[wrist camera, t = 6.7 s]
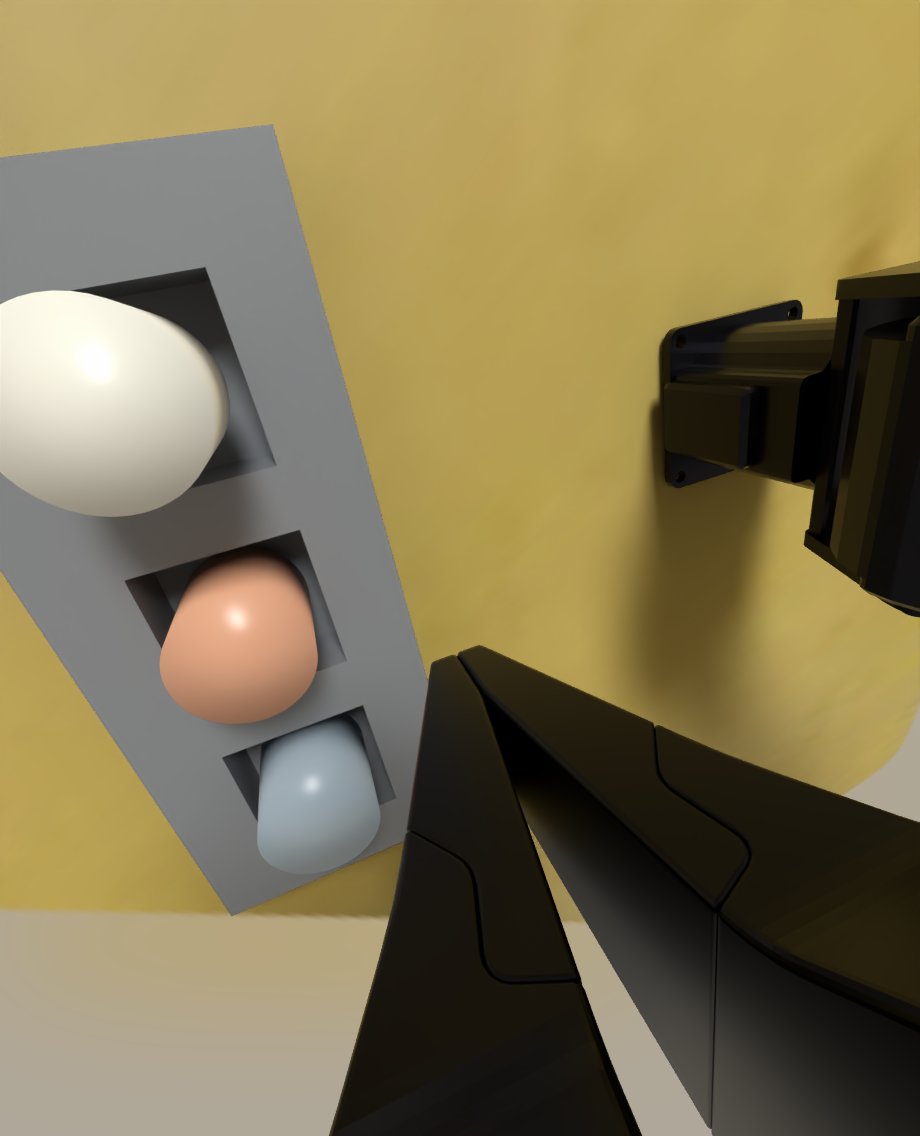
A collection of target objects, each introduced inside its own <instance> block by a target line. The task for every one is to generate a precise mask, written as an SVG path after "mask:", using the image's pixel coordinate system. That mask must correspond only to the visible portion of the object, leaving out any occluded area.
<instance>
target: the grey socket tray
mask: <svg viewBox="0 0 920 1136" xmlns="http://www.w3.org/2000/svg"><path fill="white" fill-rule="evenodd" d="M52 290H54V291H74V292H81V293H88V294H92V295H96V296H99V297H103V298H107V299H110V300H113V301H116V302H119V303H122V304H125V305H128V306H131V307H134V308H138V309H141V310H144V311H147V312H150V313H153V314H156V315H158V316H161V317H163V318H166V319H168V320H170V321H172V322H174V323H176V324H178V325H179V326H181V327H182V328H184V329H185V330H187V331H188V332H189V333H191V334H192V335H193V336H194V337H195V338H196V339H198V340H199V341H200V342H201V343H202V344H203V346H204V347H205V348H206V349H207V350H208V351H209V353H210V354H211V355H212V356H213V358H214V359H215V361H216V363H217V364H218V366H219V368H220V370H221V372H222V374H223V376H224V378H225V382H226V385H227V388H228V393H229V399H230V415H229V422H228V426H227V430H226V432H225V434H224V437H223V439H222V440H221V442H220V444H219V445H218V447H217V448H216V450H215V452H214V453H213V455H212V456H211V458H210V460H209V461H208V463H207V464H206V466H205V468H204V469H203V471H202V472H201V474H200V475H199V477H198V478H197V479H196V481H195V482H194V483H193V484H192V485H191V487H190V488H188V489H187V490H186V491H185V492H184V493H183V494H182V495H180V496H179V497H177V498H176V499H174V500H173V501H171V502H170V503H168V504H166V505H164V506H162V507H159V508H157V509H154V510H151V511H148V512H145V513H141V514H136V515H131V516H119V517H102V516H93V515H85V514H81V513H76V512H72V511H68V510H65V509H62V508H59V507H56V506H53V505H51V504H49V503H47V502H44V501H42V500H40V499H38V498H36V497H34V496H33V495H31V494H29V493H27V492H26V491H24V490H22V489H21V488H19V487H18V486H17V485H15V484H14V483H13V482H11V481H10V480H8V479H7V478H6V477H5V476H4V475H3V474H2V473H1V472H0V571H1V572H2V574H3V575H4V577H5V578H6V580H7V581H8V583H9V584H10V586H11V587H12V589H13V590H14V592H15V593H16V595H17V596H18V598H19V599H20V601H21V602H22V604H23V605H24V607H25V608H26V610H27V611H28V613H29V614H30V616H31V617H32V619H33V620H34V622H35V623H36V625H37V626H38V628H39V629H40V631H41V632H42V634H43V635H44V637H45V638H46V640H47V641H48V643H49V644H50V646H51V647H52V649H53V650H54V652H55V653H56V655H57V656H58V658H59V659H60V661H61V662H62V663H63V665H64V666H65V668H66V669H67V671H68V672H69V674H70V675H71V677H72V678H73V680H74V681H75V683H76V684H77V686H78V687H79V689H80V690H81V692H82V693H83V695H84V696H85V698H86V699H87V701H88V702H89V704H90V705H91V707H92V708H93V710H94V711H95V713H96V714H97V716H98V717H99V719H100V720H101V722H102V723H103V725H104V726H105V728H106V729H107V731H108V732H109V734H110V735H111V737H112V738H113V740H114V741H115V743H116V744H117V746H118V747H119V749H120V750H121V752H122V753H123V755H124V756H125V758H126V759H127V761H128V762H129V764H130V765H131V767H132V768H133V770H134V771H135V773H136V774H137V776H138V777H139V779H140V780H141V781H142V783H143V784H144V786H145V787H146V789H147V790H148V792H149V793H150V795H151V796H152V798H153V799H154V801H155V802H156V804H157V805H158V807H159V808H160V810H161V811H162V813H163V814H164V816H165V817H166V819H167V820H168V822H169V823H170V825H171V826H172V828H173V829H174V831H175V832H176V834H177V835H178V837H179V838H180V840H181V841H182V843H183V844H184V846H185V847H186V849H187V850H188V852H189V853H190V855H191V856H192V858H193V859H194V861H195V862H196V864H197V865H198V867H199V868H200V870H201V871H202V873H203V874H204V876H205V877H206V879H207V880H208V882H209V883H210V885H211V886H212V888H213V889H214V891H215V892H216V894H217V895H218V897H219V898H220V899H221V901H222V902H223V904H224V905H225V907H226V908H227V910H228V911H229V913H230V914H231V916H233V915H236V914H238V913H240V912H243V911H245V910H247V909H249V908H252V907H254V906H256V905H259V904H261V903H263V902H265V901H268V900H270V899H272V898H275V897H277V896H279V895H281V894H284V893H286V892H288V891H291V890H293V889H295V888H298V887H300V886H302V885H304V884H307V883H309V882H311V881H314V880H316V879H318V878H320V877H323V876H325V875H327V874H330V873H332V872H334V871H336V870H339V869H341V868H343V867H346V866H348V865H350V864H352V863H355V862H357V861H359V860H362V859H364V858H366V857H369V856H371V855H373V854H375V853H378V852H380V851H382V850H385V849H387V848H389V847H391V846H394V845H396V844H398V843H401V842H403V841H404V838H405V834H406V833H407V830H406V827H407V820H408V813H409V807H410V800H411V794H412V787H413V781H414V774H415V767H416V761H417V754H418V748H419V741H420V735H421V728H422V721H423V715H424V708H425V702H426V695H427V689H428V680H427V677H426V673H425V669H424V666H423V662H422V659H421V655H420V651H419V648H418V644H417V641H416V637H415V633H414V630H413V626H412V623H411V619H410V615H409V612H408V608H407V605H406V601H405V598H404V594H403V590H402V587H401V583H400V580H399V576H398V572H397V569H396V565H395V562H394V558H393V554H392V551H391V547H390V544H389V540H388V536H387V533H386V529H385V526H384V522H383V518H382V515H381V511H380V508H379V504H378V500H377V497H376V493H375V490H374V486H373V483H372V479H371V475H370V472H369V468H368V465H367V461H366V457H365V454H364V450H363V447H362V443H361V439H360V436H359V432H358V429H357V425H356V421H355V418H354V414H353V411H352V407H351V403H350V400H349V396H348V393H347V389H346V385H345V382H344V378H343V375H342V371H341V367H340V364H339V360H338V357H337V353H336V350H335V346H334V342H333V339H332V335H331V332H330V328H329V324H328V321H327V317H326V314H325V310H324V306H323V303H322V299H321V296H320V292H319V288H318V285H317V281H316V278H315V274H314V270H313V267H312V263H311V260H310V256H309V252H308V249H307V245H306V242H305V238H304V235H303V231H302V227H301V224H300V220H299V217H298V213H297V209H296V206H295V202H294V199H293V195H292V191H291V188H290V184H289V181H288V177H287V173H286V170H285V166H284V163H283V159H282V155H281V152H280V148H279V145H278V141H277V137H276V134H275V130H274V127H273V124H272V125H263V126H255V127H247V128H239V129H231V130H222V131H214V132H206V133H198V134H190V135H182V136H173V137H165V138H157V139H149V140H141V141H132V142H124V143H116V144H108V145H100V146H92V147H83V148H75V149H67V150H59V151H51V152H42V153H34V154H26V155H18V156H10V157H1V158H0V304H2V303H3V302H6V301H8V300H11V299H13V298H15V297H18V296H22V295H26V294H30V293H34V292H42V291H52ZM239 547H256V548H262V549H266V550H270V551H273V552H275V553H278V554H280V555H281V556H283V557H285V558H286V559H288V560H289V561H291V562H292V563H293V564H294V565H295V566H296V567H297V568H298V569H299V571H300V572H301V573H302V575H303V576H304V578H305V580H306V583H307V585H308V589H309V595H310V602H311V609H312V616H313V624H314V631H315V638H316V645H317V653H318V663H317V669H316V673H315V676H314V678H313V680H312V682H311V684H310V686H309V688H308V689H307V691H306V692H305V693H304V694H303V695H302V697H301V698H300V699H299V700H298V701H296V702H295V703H294V704H293V705H292V706H290V707H289V708H287V709H286V710H284V711H283V712H281V713H279V714H277V715H275V716H272V717H270V718H267V719H264V720H261V721H257V722H252V723H244V724H226V723H218V722H213V721H209V720H206V719H203V718H200V717H198V716H196V715H194V714H192V713H190V712H188V711H187V710H185V709H184V708H183V707H181V706H180V705H179V704H178V703H177V702H176V701H175V700H174V699H173V698H172V697H171V696H170V694H169V693H168V691H167V690H166V688H165V685H164V683H163V681H162V677H161V674H160V655H161V651H162V647H163V644H164V642H165V639H166V637H167V634H168V631H169V629H170V626H171V624H172V621H173V618H174V616H175V613H176V611H177V608H178V606H179V603H180V600H181V598H182V595H183V593H184V590H185V588H186V585H187V583H188V580H189V578H190V577H191V575H192V573H193V572H194V571H195V570H196V568H197V567H198V566H199V565H200V564H201V563H203V562H204V561H205V560H207V559H208V558H210V557H211V556H213V555H215V554H218V553H221V552H225V551H228V550H232V549H235V548H239ZM343 712H345V713H346V714H348V715H350V716H351V717H352V718H353V719H354V720H355V721H356V722H357V723H358V725H359V726H360V728H361V730H362V734H363V738H364V742H365V747H366V751H367V756H368V760H369V764H370V769H371V773H372V778H373V782H374V786H375V791H376V795H377V800H378V804H379V809H380V816H381V817H380V824H379V828H378V831H377V833H376V835H375V837H374V838H373V840H372V841H371V843H370V844H369V845H368V846H367V847H366V848H365V849H364V850H363V851H362V852H361V853H360V854H359V855H358V856H356V857H355V858H353V859H352V860H350V861H349V862H347V863H345V864H343V865H341V866H339V867H336V868H334V869H331V870H328V871H324V872H320V873H313V874H293V873H288V872H284V871H281V870H279V869H277V868H274V867H273V866H271V865H270V864H269V863H267V862H266V861H265V860H264V858H263V857H262V855H261V854H260V851H259V849H258V844H257V830H258V805H259V780H260V754H261V747H262V744H263V742H265V741H268V740H270V739H273V738H276V737H278V736H281V735H284V734H286V733H289V732H292V731H295V730H297V729H300V728H303V727H305V726H308V725H311V724H313V723H316V722H319V721H321V720H324V719H327V718H330V717H332V716H335V715H338V714H340V713H343Z"/></svg>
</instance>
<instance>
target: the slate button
mask: <svg viewBox="0 0 920 1136" xmlns="http://www.w3.org/2000/svg"><path fill="white" fill-rule="evenodd" d="M380 817H381V816H380V809H379V804H378V800H377V795H376V791H375V786H374V782H373V778H372V773H371V769H370V764H369V760H368V756H367V751H366V747H365V742H364V738H363V734H362V730H361V728H360V726H359V725H358V723H357V722H356V721H355V720H354V719H353V718H352V717H351V716H350V715H348V714H346V713H345V712H343V713H340V714H338V715H335V716H332V717H330V718H327V719H324V720H321V721H319V722H316V723H313V724H311V725H308V726H305V727H303V728H300V729H297V730H295V731H292V732H289V733H286V734H284V735H281V736H278V737H276V738H273V739H270V740H268V741H265V742H263V744H262V747H261V754H260V780H259V805H258V830H257V844H258V849H259V851H260V854H261V855H262V857H263V858H264V860H265V861H266V862H267V863H269V864H270V865H271V866H273V867H274V868H277V869H279V870H281V871H284V872H288V873H293V874H313V873H320V872H324V871H328V870H331V869H334V868H336V867H339V866H341V865H343V864H345V863H347V862H349V861H350V860H352V859H353V858H355V857H356V856H358V855H359V854H360V853H361V852H362V851H363V850H364V849H365V848H366V847H367V846H368V845H369V844H370V843H371V841H372V840H373V838H374V837H375V835H376V833H377V831H378V828H379V824H380Z"/></svg>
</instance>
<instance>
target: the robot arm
mask: <svg viewBox="0 0 920 1136" xmlns="http://www.w3.org/2000/svg"><path fill="white" fill-rule="evenodd" d="M835 300H839V304H838V312H837V317H835V318H820V319H804V320H802V312H803V309H802V304H801V302H800V301H798V300H789V301H783V302H779V303H775V304H771V305H766V306H762V307H758V308H754V309H750V310H746V311H742V312H738V313H734V314H730V315H726V316H722V317H717V318H713V319H709V320H705V321H701V322H697V323H693V324H689V325H685V326H681V327H677V328H673V329H671V330H669V332H668V333H667V334H666V336H665V338H664V342H663V368H664V446H665V481H666V483H667V484H668V485H670V486H672V487H675V488H681V487H684V486H687V485H691V484H694V483H697V482H700V481H703V480H706V479H709V478H712V477H715V476H718V475H721V474H725V473H728V472H731V471H734V470H737V471H741V472H745V473H749V474H753V475H757V476H761V477H765V478H769V479H772V480H776V481H780V482H784V483H788V484H792V485H796V486H800V487H804V488H808V489H812V490H814V493H813V501H812V509H811V516H810V524H809V529H808V530H806V531H805V539H804V546H805V547H807V548H808V549H809V550H811V551H812V552H814V553H815V554H817V555H818V556H819V557H821V558H822V559H824V560H825V561H826V562H828V563H829V564H831V565H832V566H833V567H835V568H836V569H838V570H839V571H841V572H842V573H843V574H845V575H846V576H848V577H849V578H850V579H852V580H853V581H855V582H856V583H858V584H859V585H860V587H861V588H862V589H864V590H865V591H866V592H867V593H869V594H870V595H873V596H875V597H877V598H879V599H880V600H882V601H883V602H885V603H887V604H888V605H890V606H892V607H894V608H896V609H898V610H900V611H902V612H903V613H905V614H907V615H910V616H914V617H920V261H918V262H914V263H909V264H905V265H901V266H896V267H892V268H887V269H883V270H878V271H874V272H869V273H865V274H861V275H856V276H852V277H847V278H843V279H839V280H838V283H837V291H836V298H835ZM788 313H789V316H788ZM677 337H679V344H678V346H677V347H676V344H675V342H676V339H677ZM678 472H679V477H678V478H677V479H676V475H677V474H678ZM526 821H527V822H526ZM527 823H528V824H527ZM528 825H529V826H530V828H531V830H532V832H533V833H534V835H535V837H536V838H537V840H538V842H539V843H540V845H541V847H542V848H543V850H544V852H545V853H546V855H547V857H548V859H549V860H550V862H551V864H552V865H553V867H554V869H555V870H556V872H557V874H558V875H559V877H560V879H561V880H562V882H563V884H564V886H565V887H566V889H567V891H568V892H569V894H570V896H571V897H572V899H573V901H574V902H575V904H576V906H577V907H578V909H579V911H580V913H581V914H582V916H583V918H584V919H585V921H586V923H587V924H588V926H589V928H590V929H591V931H592V933H593V934H594V936H595V938H596V939H597V941H598V943H599V945H600V946H601V948H602V949H603V951H604V953H605V954H606V956H607V958H608V960H609V961H610V963H611V965H612V967H613V968H614V970H615V972H616V973H617V975H618V977H619V978H620V980H621V982H622V983H623V985H624V987H625V988H626V990H627V992H628V993H629V995H630V997H631V999H632V1000H633V1002H634V1003H635V1005H636V1007H637V1009H638V1010H639V1012H640V1014H641V1015H642V1017H643V1019H644V1020H645V1022H646V1024H647V1025H648V1027H649V1029H650V1031H651V1032H652V1034H653V1036H654V1037H655V1039H656V1040H657V1042H658V1044H659V1046H660V1047H661V1049H662V1051H663V1053H664V1054H665V1056H666V1058H667V1059H668V1061H669V1063H670V1064H671V1066H672V1068H673V1069H674V1071H675V1073H676V1074H677V1076H678V1078H679V1080H680V1081H681V1083H682V1085H683V1086H684V1088H685V1090H686V1091H687V1093H688V1094H689V1096H690V1098H691V1100H692V1101H693V1103H694V1105H695V1107H696V1108H697V1110H698V1112H699V1113H700V1115H701V1117H702V1118H703V1120H704V1122H705V1123H706V1125H707V1126H708V1128H710V1129H712V1135H713V1136H920V822H917V821H914V820H911V819H908V818H905V817H902V816H898V815H895V814H893V813H890V812H887V811H884V810H881V809H878V808H875V807H873V806H870V805H867V804H864V803H861V802H858V801H856V800H852V799H850V798H847V797H844V796H841V795H838V794H836V793H833V792H830V791H827V790H824V789H821V788H818V787H816V786H813V785H810V784H807V783H804V782H801V781H798V780H796V779H793V778H790V777H787V776H784V775H781V774H779V773H776V772H773V771H770V770H767V769H765V768H762V767H759V766H757V765H754V764H751V763H749V762H746V761H743V760H741V759H738V758H735V757H733V756H730V755H727V754H724V753H722V752H720V751H717V750H715V749H713V748H710V747H708V746H705V745H703V744H701V743H698V742H696V741H694V740H691V739H689V738H687V737H684V736H682V735H680V734H677V733H675V732H673V731H671V730H669V729H666V728H664V727H662V726H660V725H657V726H655V727H654V724H653V723H652V722H650V721H648V720H646V719H644V718H641V717H639V716H637V715H635V714H633V713H630V712H628V711H626V710H624V709H621V708H619V707H617V706H615V705H613V704H610V703H608V702H606V701H604V700H602V699H599V698H597V697H595V696H593V695H590V694H588V693H586V692H584V691H582V690H579V689H577V688H575V687H573V686H571V685H568V684H566V683H564V682H562V681H559V680H557V679H555V678H553V677H551V676H548V675H546V674H544V673H542V672H539V671H537V670H535V669H533V668H531V667H528V666H526V665H524V664H522V663H520V662H517V661H515V660H513V659H511V658H508V657H506V656H504V655H502V654H500V653H497V652H495V651H493V650H491V649H488V648H486V647H484V646H481V645H477V646H474V647H472V648H469V649H466V650H464V651H461V652H459V653H458V655H457V656H456V655H450V656H447V657H445V658H442V659H439V660H436V661H434V662H433V663H432V664H431V669H430V675H429V682H428V689H427V695H426V702H425V708H424V715H423V721H422V728H421V735H420V741H419V748H418V754H417V761H416V767H415V774H414V781H413V787H412V794H411V800H410V807H409V813H408V820H407V827H406V830H407V833H406V834H405V838H404V844H403V851H402V857H401V863H400V869H399V874H398V879H397V885H396V890H395V895H394V901H393V906H392V910H391V913H390V917H389V921H388V926H387V930H386V934H385V937H384V942H383V946H382V949H381V953H380V957H379V961H378V964H377V969H376V971H375V975H374V979H373V982H372V986H371V989H370V993H369V996H368V1000H367V1004H366V1007H365V1011H364V1014H363V1018H362V1022H361V1025H360V1028H359V1032H358V1036H357V1039H356V1043H355V1046H354V1050H353V1053H352V1057H351V1061H350V1064H349V1068H348V1071H347V1075H346V1079H345V1082H344V1086H343V1089H342V1093H341V1096H340V1100H339V1103H338V1107H337V1111H336V1114H335V1117H334V1120H333V1124H332V1127H331V1130H330V1134H329V1136H642V1134H641V1132H640V1129H639V1127H638V1125H637V1122H636V1120H635V1117H634V1115H633V1113H632V1110H631V1108H630V1106H629V1103H628V1101H627V1099H626V1096H625V1094H624V1092H623V1089H622V1087H621V1084H620V1082H619V1080H618V1077H617V1075H616V1072H615V1070H614V1067H613V1065H612V1063H611V1060H610V1057H609V1055H608V1052H607V1049H606V1047H605V1044H604V1042H603V1039H602V1036H601V1034H600V1031H599V1028H598V1026H597V1023H596V1020H595V1017H594V1014H593V1012H592V1009H591V1006H590V1003H589V1000H588V998H587V995H586V992H585V990H584V988H583V986H582V982H581V977H580V974H579V972H578V969H577V966H576V963H575V960H574V957H573V954H572V952H571V948H570V946H569V943H568V940H567V937H566V934H565V931H564V928H563V925H562V923H561V920H560V917H559V914H558V911H557V908H556V905H555V902H554V899H553V897H552V894H551V891H550V888H549V885H548V882H547V879H546V876H545V873H544V871H543V868H542V865H541V862H540V859H539V856H538V853H537V850H536V848H535V845H534V842H533V839H532V836H531V833H530V830H529V827H528Z"/></svg>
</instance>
